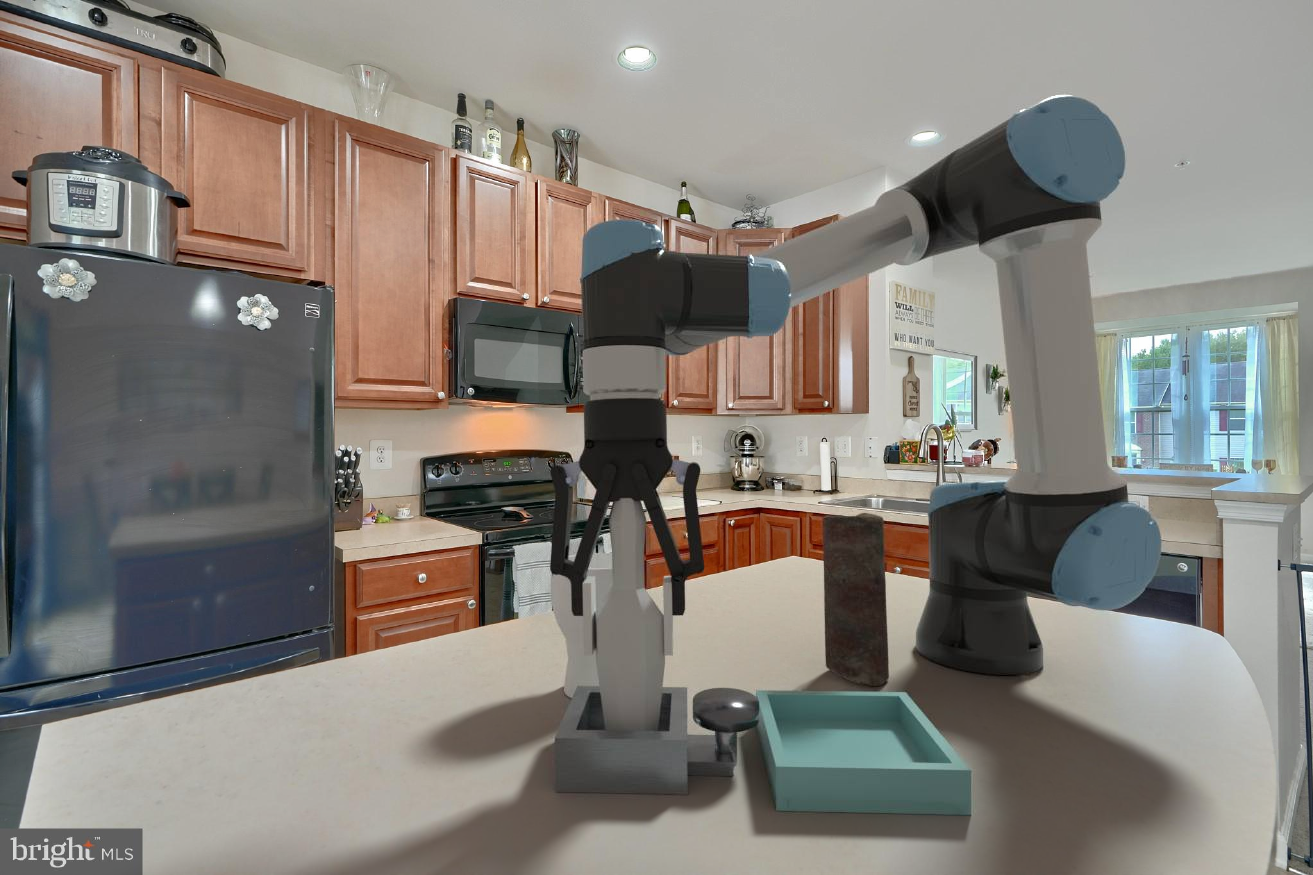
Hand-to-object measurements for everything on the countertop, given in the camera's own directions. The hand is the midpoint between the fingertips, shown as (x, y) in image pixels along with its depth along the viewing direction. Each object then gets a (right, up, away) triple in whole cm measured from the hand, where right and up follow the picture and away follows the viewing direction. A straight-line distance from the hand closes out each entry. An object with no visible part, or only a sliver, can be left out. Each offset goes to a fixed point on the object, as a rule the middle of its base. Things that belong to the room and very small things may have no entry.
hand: (629, 649), depth 59 cm
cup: (-4, -10, +16) cm, 20 cm away
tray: (+20, -10, -1) cm, 22 cm away
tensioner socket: (+3, -10, 0) cm, 10 cm away
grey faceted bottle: (0, -8, 0) cm, 8 cm away
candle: (+27, -10, +20) cm, 35 cm away
